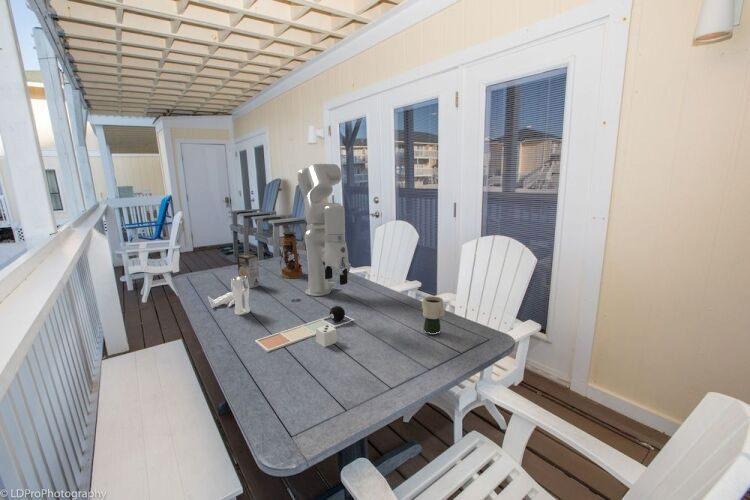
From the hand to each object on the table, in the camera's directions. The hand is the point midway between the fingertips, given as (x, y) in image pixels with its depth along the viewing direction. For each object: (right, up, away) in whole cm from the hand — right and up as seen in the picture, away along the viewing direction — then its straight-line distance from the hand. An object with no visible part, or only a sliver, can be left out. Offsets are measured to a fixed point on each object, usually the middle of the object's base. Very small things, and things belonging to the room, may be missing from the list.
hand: (336, 281), depth 134 cm
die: (-2, -20, -14) cm, 24 cm away
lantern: (-33, -3, +66) cm, 73 cm away
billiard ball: (0, -16, +4) cm, 17 cm away
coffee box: (-51, -7, +47) cm, 69 cm away
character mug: (+36, -19, -7) cm, 41 cm away
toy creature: (-52, -12, +21) cm, 58 cm away
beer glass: (-41, -14, +12) cm, 45 cm away
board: (-10, -18, -5) cm, 21 cm away
